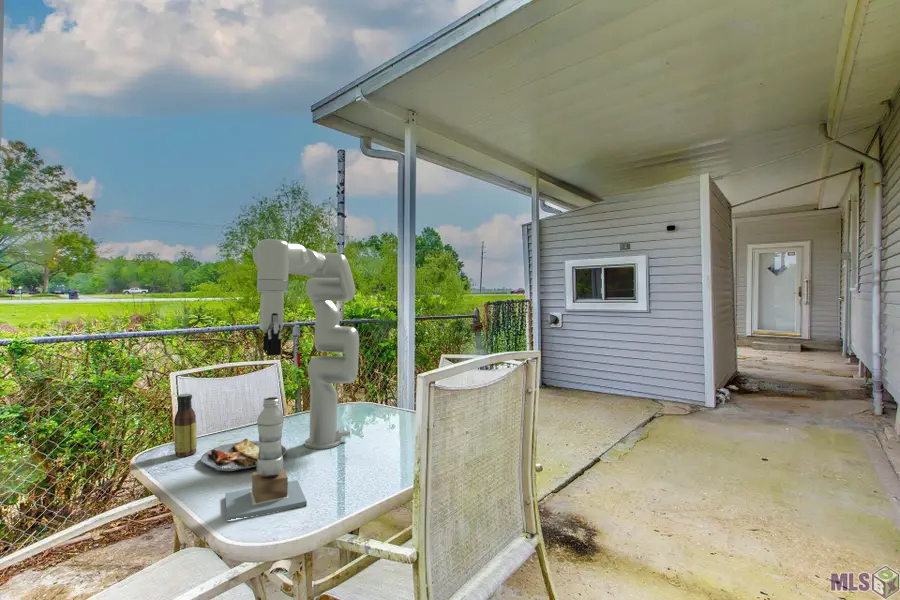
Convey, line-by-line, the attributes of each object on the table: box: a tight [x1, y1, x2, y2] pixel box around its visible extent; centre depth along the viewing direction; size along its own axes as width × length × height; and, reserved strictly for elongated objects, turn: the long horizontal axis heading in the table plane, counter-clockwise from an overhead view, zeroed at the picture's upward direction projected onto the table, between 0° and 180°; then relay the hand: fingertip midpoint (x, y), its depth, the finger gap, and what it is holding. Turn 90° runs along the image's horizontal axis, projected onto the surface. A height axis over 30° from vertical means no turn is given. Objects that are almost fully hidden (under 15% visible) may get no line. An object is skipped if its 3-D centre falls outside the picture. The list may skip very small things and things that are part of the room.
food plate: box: [200, 438, 287, 472], centre depth 139 cm, size 25×23×4 cm
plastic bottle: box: [255, 396, 285, 477], centre depth 112 cm, size 6×7×20 cm
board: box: [224, 479, 308, 521], centre depth 110 cm, size 18×14×1 cm
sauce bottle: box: [173, 393, 198, 458], centre depth 142 cm, size 7×6×20 cm
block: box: [251, 468, 289, 503], centre depth 112 cm, size 8×8×5 cm
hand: (271, 352), depth 112 cm, fingers open, 9 cm apart
